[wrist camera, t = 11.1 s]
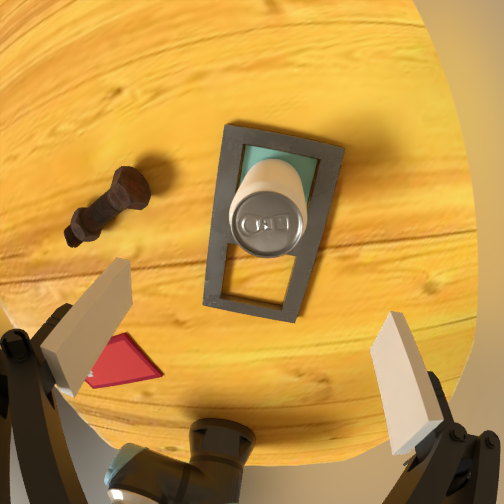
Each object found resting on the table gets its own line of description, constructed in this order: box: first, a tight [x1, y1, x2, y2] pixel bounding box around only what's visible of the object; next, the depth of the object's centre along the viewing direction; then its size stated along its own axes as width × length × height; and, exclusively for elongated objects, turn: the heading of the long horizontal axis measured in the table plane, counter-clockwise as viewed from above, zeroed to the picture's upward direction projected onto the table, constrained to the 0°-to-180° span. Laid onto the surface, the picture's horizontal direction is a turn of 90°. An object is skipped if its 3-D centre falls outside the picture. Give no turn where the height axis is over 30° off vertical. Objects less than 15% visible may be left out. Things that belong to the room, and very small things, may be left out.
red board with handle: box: [85, 332, 163, 389], centre depth 53 cm, size 30×3×15 cm
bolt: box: [64, 166, 151, 248], centre depth 36 cm, size 6×5×15 cm
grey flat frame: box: [203, 124, 345, 323], centre depth 36 cm, size 24×13×1 cm, turn 171°
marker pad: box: [239, 145, 317, 206], centre depth 34 cm, size 8×8×1 cm
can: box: [229, 159, 307, 258], centre depth 29 cm, size 6×6×12 cm
